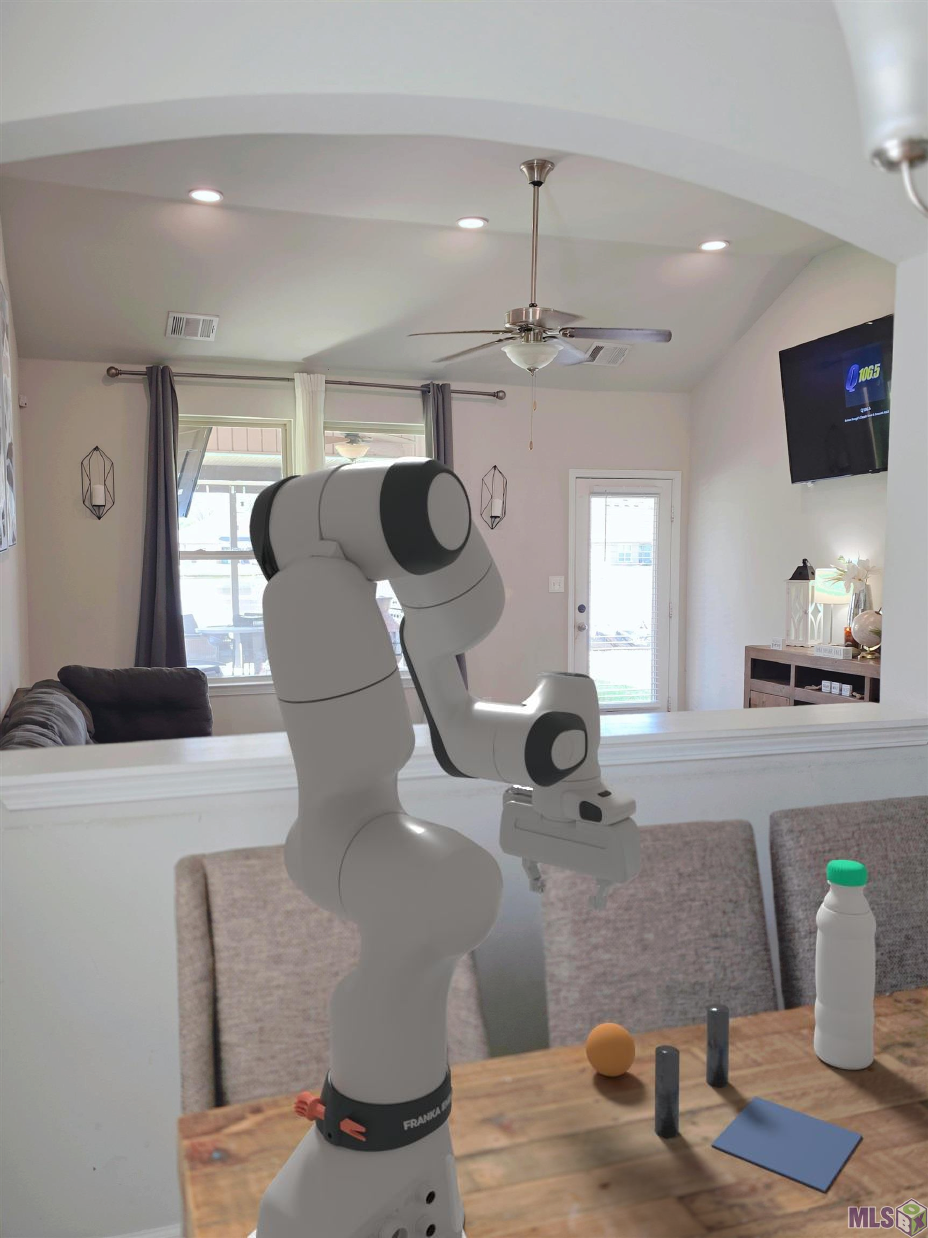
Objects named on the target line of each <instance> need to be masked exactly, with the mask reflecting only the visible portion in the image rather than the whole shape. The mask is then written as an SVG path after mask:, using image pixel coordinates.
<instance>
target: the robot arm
mask: <svg viewBox="0 0 928 1238" xmlns="http://www.w3.org/2000/svg"><path fill="white" fill-rule="evenodd" d="M248 528H249V530H248V531H249V538H250V544H251V547H252V552H253V555H254V558H255V560H256V561H257V562H256V563H257V565H258V566H259V569H260V570H261V572H262V575H263V577H264V578H265V580H266V582H267V584H266V585H265V587H264V590H263V594H262V597H261V598H262V599H261V601H262V602H261V608H262V623H263V632H264V639H265V640H264V641H265V647H266V653H267V654H266V655H267V660H268V665H269V670H270V674H271V675H270V676H271V679H272V683H273V687H274V690H275V695H276V698H277V702H278V704H279V705H278V706H279V709H280V712H281V716H282V720H283V724H284V727H285V732H286V735H287V740H288V744H289V747H290V750H291V755H292V759H293V762H294V767H295V772H296V778H297V779H296V780H297V791H298V792H297V793H298V804H297V805H298V807H297V808H298V809H297V812H298V813H297V818H295V820H294V821H293V823H292V825H291V826H290V828H289V831H288V832H287V835H286V839H285V843H284V849H283V862H284V867H285V871H286V873H287V875H288V877H289V879H290V880H291V881H292V883H293V884H294V885H295V886H296V887H297V888H298V889H299V890H300V891H301V892H302V893H303V894H304V895H305V896H306V897H307V898H308V899H310V900H311V901H312V903H314V905H317V907H319V908H321V909H322V910H325V911H327V912H329V913H331V914H334V915H335V916H338V917H340V918H342V919H344V920H346V921H348V922H351V923H352V924H354V925H356V927H357V929H358V932H359V935H360V951H359V956H358V961H357V963H356V968H354V969H352V970H350V971H349V972H348V973H347V974H345V976H342V978H341V979H340V980H339V981H338V983H337V984H336V985H335V987H334V988H333V991H332V992H331V995H330V999H329V1068H328V1070H327V1072H326V1076H325V1079H324V1082H323V1086H322V1090H321V1092H320V1097H318V1096H317V1097H315V1096H314V1095H313V1094H311V1092H308V1091H303V1092H301V1093H300V1094H298V1095H297V1097H296V1100H295V1101H294V1103H293V1104H294V1106H293V1109H294V1113H295V1114H296V1115H298V1116H300V1117H304V1118H306V1120H308V1121H309V1122H313V1121H315V1122H313V1124H312V1126H311V1128H309V1130H308V1131H307V1133H306V1134H305V1135H304V1136H303V1138H302V1139H301V1141H300V1142H299V1144H297V1147H296V1148H295V1149H294V1151H293V1152H292V1154H290V1156H289V1158H288V1159H287V1160H286V1162H285V1163H284V1164H283V1166H282V1168H281V1169H280V1170H279V1172H278V1173H276V1176H275V1177H274V1178H273V1180H272V1181H271V1182H270V1183H269V1185H268V1186H267V1187H266V1189H265V1191H264V1193H263V1194H262V1197H261V1200H260V1204H259V1208H258V1214H257V1220H256V1221H257V1222H256V1228H255V1229H254V1230H253V1231H252V1232H251V1233H250V1234H248V1235H247V1237H246V1238H468V1237H467V1234H466V1232H465V1229H464V1222H465V1207H464V1204H463V1200H462V1198H461V1195H460V1191H459V1185H458V1184H459V1183H458V1176H457V1175H458V1174H457V1166H456V1157H455V1152H454V1147H453V1142H452V1136H451V1131H450V1124H449V1123H450V1122H449V1116H450V1114H451V1112H452V1103H453V1102H452V1100H453V1099H452V1098H453V1086H452V1073H451V1072H452V1070H451V1067H450V1065H449V1064H448V1062H447V1057H448V1056H447V1054H448V1053H447V1051H448V1049H447V1048H448V1015H449V1014H448V1013H449V1012H448V1010H449V1009H448V1008H449V999H450V990H451V987H452V984H453V979H454V977H455V974H456V971H457V969H458V966H459V964H460V962H461V961H462V959H463V958H464V957H465V955H467V954H469V953H471V952H472V951H474V950H475V949H476V948H478V947H479V946H480V945H481V944H482V943H483V942H484V941H485V940H487V938H488V937H489V935H490V934H491V932H492V931H493V929H494V928H495V926H496V924H497V921H498V919H499V917H500V914H501V911H502V906H503V903H504V880H503V874H502V870H501V867H500V866H499V863H498V862H497V859H495V857H494V856H493V854H491V853H490V852H489V851H488V850H486V849H485V848H484V847H482V846H481V845H479V844H478V843H477V842H475V841H474V840H473V839H471V838H469V837H467V836H466V835H464V834H462V833H461V832H459V831H458V830H456V829H454V828H452V827H449V826H445V825H442V824H440V823H439V824H438V823H434V822H433V821H428V820H426V819H425V820H424V819H422V818H419V817H415V816H412V815H410V814H408V812H406V810H405V808H404V807H403V805H402V803H401V801H400V797H399V791H398V790H399V789H398V779H399V778H398V777H399V772H400V771H401V770H402V769H403V768H404V767H405V766H406V765H407V763H408V762H409V761H410V759H411V758H412V755H413V753H414V751H415V748H416V735H415V734H416V733H415V730H414V726H413V721H412V717H411V714H410V710H409V706H408V701H407V697H406V693H405V689H404V684H403V681H402V678H401V673H400V669H399V664H398V660H397V657H396V653H395V649H394V645H393V643H392V639H391V635H390V632H389V630H388V627H387V624H386V621H385V619H384V617H383V612H382V611H381V608H380V607H379V603H378V601H377V589H378V588H377V587H378V582H382V581H388V582H389V585H390V588H391V589H392V591H393V593H394V596H395V598H396V599H397V602H398V603H399V605H400V607H401V610H402V612H403V616H402V618H401V620H400V624H399V628H398V629H399V632H398V635H399V643H400V648H401V651H402V656H403V659H404V661H405V665H406V668H407V670H408V672H409V676H410V678H411V680H412V683H413V686H414V688H415V692H416V693H417V697H418V700H419V701H420V704H421V707H422V709H423V712H424V715H425V719H426V721H427V724H428V728H429V729H428V730H429V735H430V743H431V747H432V751H433V755H434V757H435V759H436V761H437V763H438V765H439V766H440V768H441V769H442V770H443V771H444V772H445V773H446V774H448V775H449V776H452V777H454V778H463V779H475V780H476V779H477V780H479V779H482V780H487V781H493V782H499V783H505V784H512V785H511V786H510V787H508V788H507V789H505V790H504V792H503V793H502V811H501V817H500V823H499V838H498V842H499V846H500V849H501V850H502V852H503V853H504V854H506V855H509V856H514V857H517V858H520V859H521V867H522V868H523V870H524V872H525V874H526V876H527V878H528V879H529V891H530V892H532V893H536V894H539V895H540V894H542V893H545V892H546V890H547V885H546V884H547V877H544V876H542V875H541V871H540V869H539V867H538V864H544V865H548V866H553V867H556V868H558V869H563V870H567V871H571V872H574V873H579V874H581V875H586V876H591V877H594V878H595V884H596V885H597V886H599V888H598V890H597V891H596V892H594V893H593V894H590V895H589V896H588V900H589V901H588V902H589V904H588V905H589V909H590V910H594V911H597V912H602V911H604V910H605V909H606V908H607V896H608V894H609V892H610V891H611V889H612V888H613V886H614V885H615V884H616V883H617V884H620V885H621V884H626V883H628V882H631V881H632V880H633V879H635V878H636V877H637V876H638V875H639V874H640V873H641V870H642V848H641V847H642V845H641V836H640V831H639V827H638V825H637V823H636V821H635V820H634V819H633V818H632V817H631V816H632V815H634V814H635V813H636V811H637V802H636V799H634V797H632V796H630V795H628V794H626V793H624V792H623V791H621V790H620V789H618V788H615V787H614V786H612V785H611V784H609V783H608V782H606V781H605V780H603V779H602V777H601V776H602V774H601V772H602V769H601V766H600V764H599V757H598V755H599V754H598V751H599V747H600V745H601V713H600V702H599V696H598V690H597V687H596V683H595V680H594V679H593V678H592V677H590V676H589V675H587V674H584V673H579V672H568V671H567V672H566V671H559V670H543V671H541V672H538V673H537V674H536V675H535V680H534V685H533V691H532V693H531V694H530V696H529V697H528V698H526V699H525V700H524V701H522V702H521V703H520V704H514V703H507V702H506V703H505V702H498V701H489V700H487V699H483V698H479V697H478V696H475V695H474V694H472V693H471V692H469V691H468V690H467V687H466V685H465V682H464V678H463V676H462V675H463V674H462V673H461V669H460V666H459V663H458V661H457V660H458V659H457V657H456V656H457V655H461V654H464V653H466V652H468V651H471V649H474V648H475V647H476V646H477V645H479V644H480V643H482V642H483V641H484V640H485V639H486V638H487V637H489V635H490V634H491V633H492V632H493V630H494V629H495V628H496V627H497V625H498V623H499V621H500V620H501V617H502V614H503V612H504V608H505V604H506V590H505V587H504V582H503V579H502V576H501V573H500V571H499V569H498V566H497V564H496V561H495V560H494V557H493V555H492V553H491V552H490V549H489V547H488V545H487V543H486V540H485V539H484V537H483V535H482V533H481V531H480V529H479V528H478V526H477V525H476V523H475V521H474V519H473V517H472V509H471V501H470V499H469V495H468V492H467V489H466V487H465V485H464V483H463V481H462V480H461V479H460V477H459V476H458V475H457V474H456V473H455V472H454V471H453V470H452V469H451V468H449V466H447V465H446V464H445V463H444V462H442V461H441V460H439V459H436V458H430V457H423V456H403V457H399V458H398V459H396V460H388V461H387V460H385V461H383V460H382V461H380V460H379V461H371V462H359V463H349V462H348V463H347V462H346V463H342V464H337V465H331V466H328V467H324V468H321V469H317V470H314V471H311V472H307V473H305V474H302V475H301V474H293V475H290V476H289V475H288V476H287V477H284V478H282V479H279V480H278V481H275V482H273V483H272V484H270V485H268V486H267V487H265V488H264V489H263V490H262V491H260V492H259V494H258V495H257V497H256V498H255V500H254V503H253V505H252V509H251V514H250V519H249V527H248ZM525 786H526V787H525Z"/></svg>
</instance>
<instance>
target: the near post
mask: <svg viewBox="0 0 928 1238" xmlns="http://www.w3.org/2000/svg"><path fill="white" fill-rule="evenodd" d="M654 1052H655V1057H654V1060H655V1061H654V1065H655V1066H654V1132H655V1134H656V1135H658V1136H659V1137H661V1138H665V1139H673V1138H675V1137H677V1136H678V1135H679V1134H680V1133H679V1131H680V1128H679V1127H680V1058H681V1057H680V1050H679V1049H678V1048H676V1047H675V1046H671V1045H666V1044H665V1045H664V1044H663V1045H659V1046H657V1047H656V1048H655V1051H654Z"/></svg>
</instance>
